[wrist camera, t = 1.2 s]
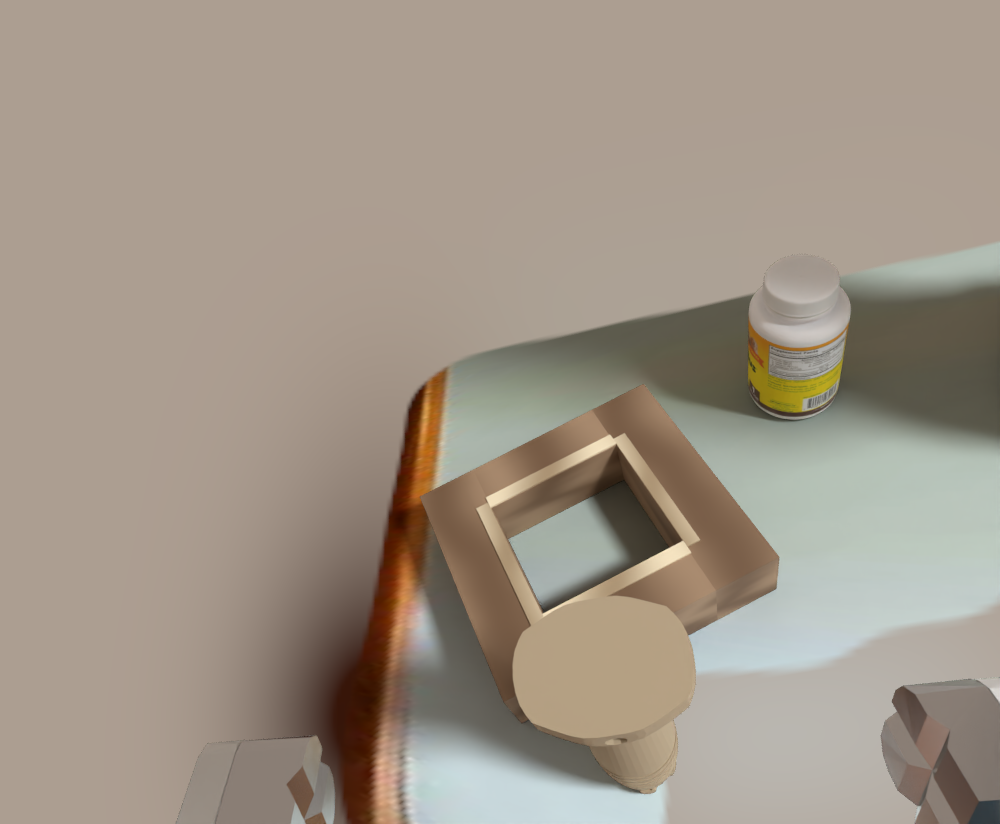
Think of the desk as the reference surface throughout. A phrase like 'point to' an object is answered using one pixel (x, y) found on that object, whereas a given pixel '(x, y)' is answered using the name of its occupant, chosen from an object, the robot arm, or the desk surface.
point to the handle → (609, 683)
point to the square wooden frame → (573, 478)
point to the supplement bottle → (797, 337)
